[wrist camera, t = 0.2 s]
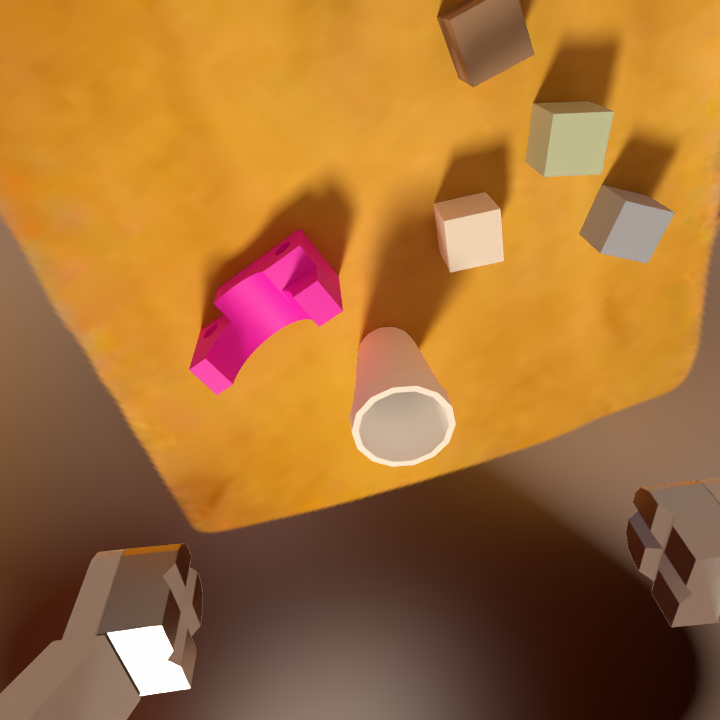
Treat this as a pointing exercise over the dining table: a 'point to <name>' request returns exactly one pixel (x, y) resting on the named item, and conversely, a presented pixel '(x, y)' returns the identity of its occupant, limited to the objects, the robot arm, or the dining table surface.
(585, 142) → the cube sage
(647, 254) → the cube slate
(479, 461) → the dining table surface
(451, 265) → the cube offwhite
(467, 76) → the cube walnut
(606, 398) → the dining table surface
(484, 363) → the dining table surface
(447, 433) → the foam cup
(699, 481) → the robot arm
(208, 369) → the toy block
